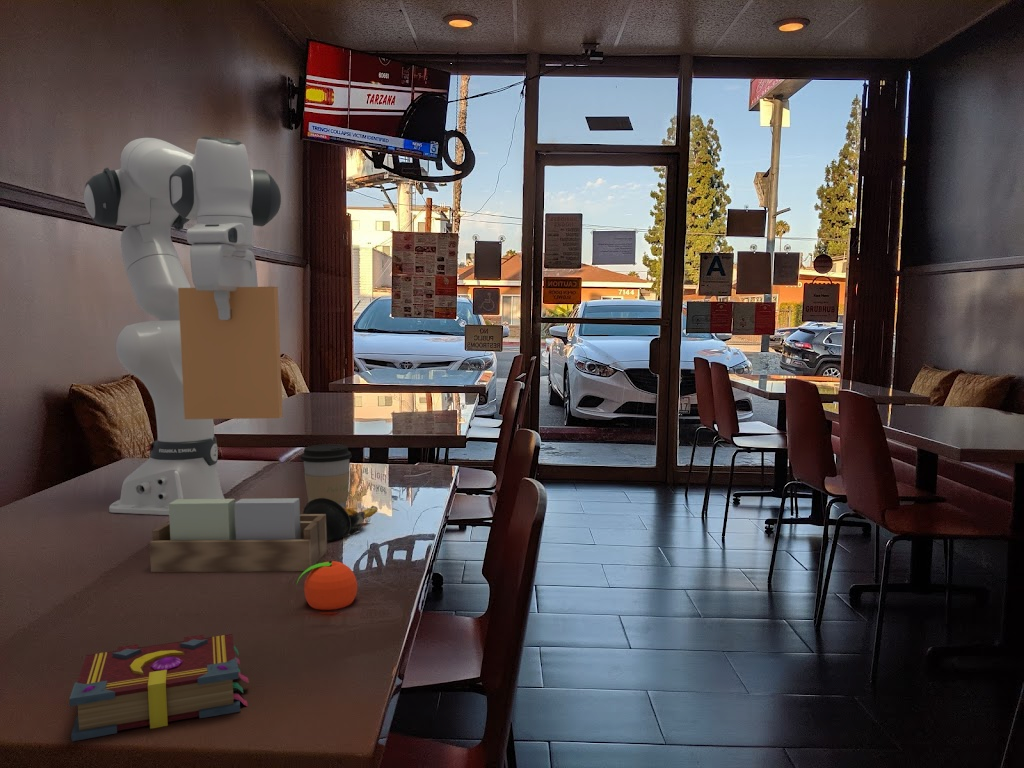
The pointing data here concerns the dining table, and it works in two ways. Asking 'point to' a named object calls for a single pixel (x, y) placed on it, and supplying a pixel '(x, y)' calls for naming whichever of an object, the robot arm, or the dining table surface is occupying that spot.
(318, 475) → the coffee cup
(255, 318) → the tall sheet
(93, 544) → the dining table surface
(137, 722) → the decorative book
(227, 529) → the offcut sage
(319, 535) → the rack
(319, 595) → the clementine
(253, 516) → the offcut slate
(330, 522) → the fried shrimp in bowl
